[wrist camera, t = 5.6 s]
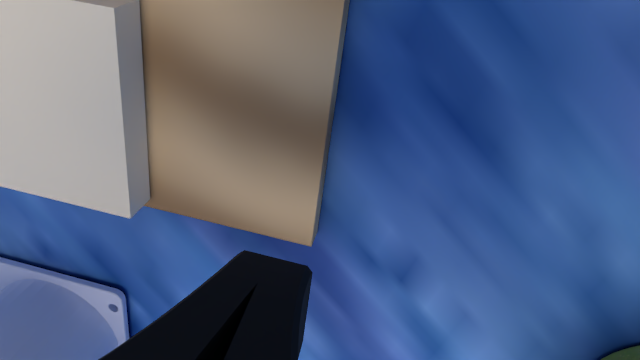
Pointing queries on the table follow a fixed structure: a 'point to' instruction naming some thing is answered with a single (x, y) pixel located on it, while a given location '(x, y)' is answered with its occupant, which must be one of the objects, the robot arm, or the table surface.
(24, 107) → the tile
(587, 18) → the table surface
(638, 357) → the plant pot
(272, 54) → the cork board
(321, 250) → the table surface
